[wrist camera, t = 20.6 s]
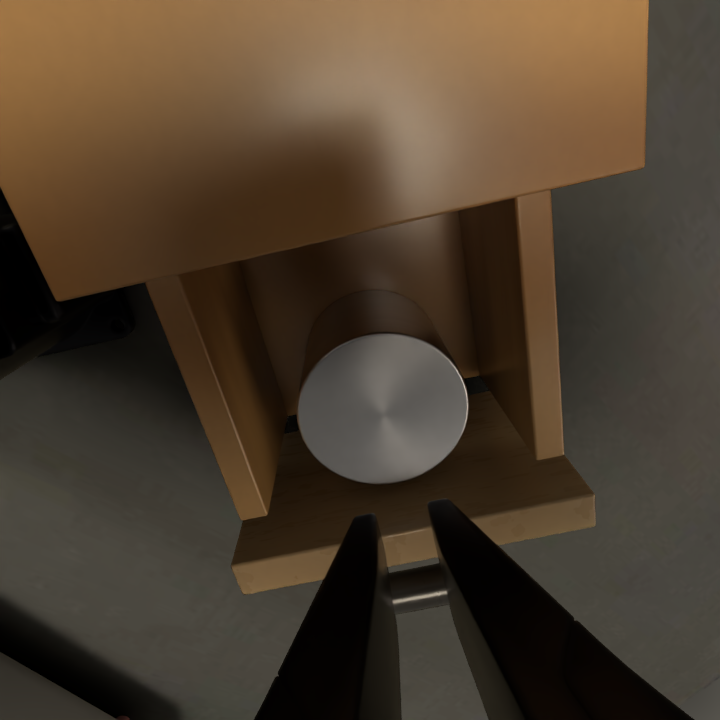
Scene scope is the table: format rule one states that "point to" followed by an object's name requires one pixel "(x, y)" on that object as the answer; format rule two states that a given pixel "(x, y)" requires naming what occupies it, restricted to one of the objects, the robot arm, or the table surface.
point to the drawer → (463, 341)
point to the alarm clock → (40, 697)
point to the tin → (379, 390)
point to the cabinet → (296, 121)
